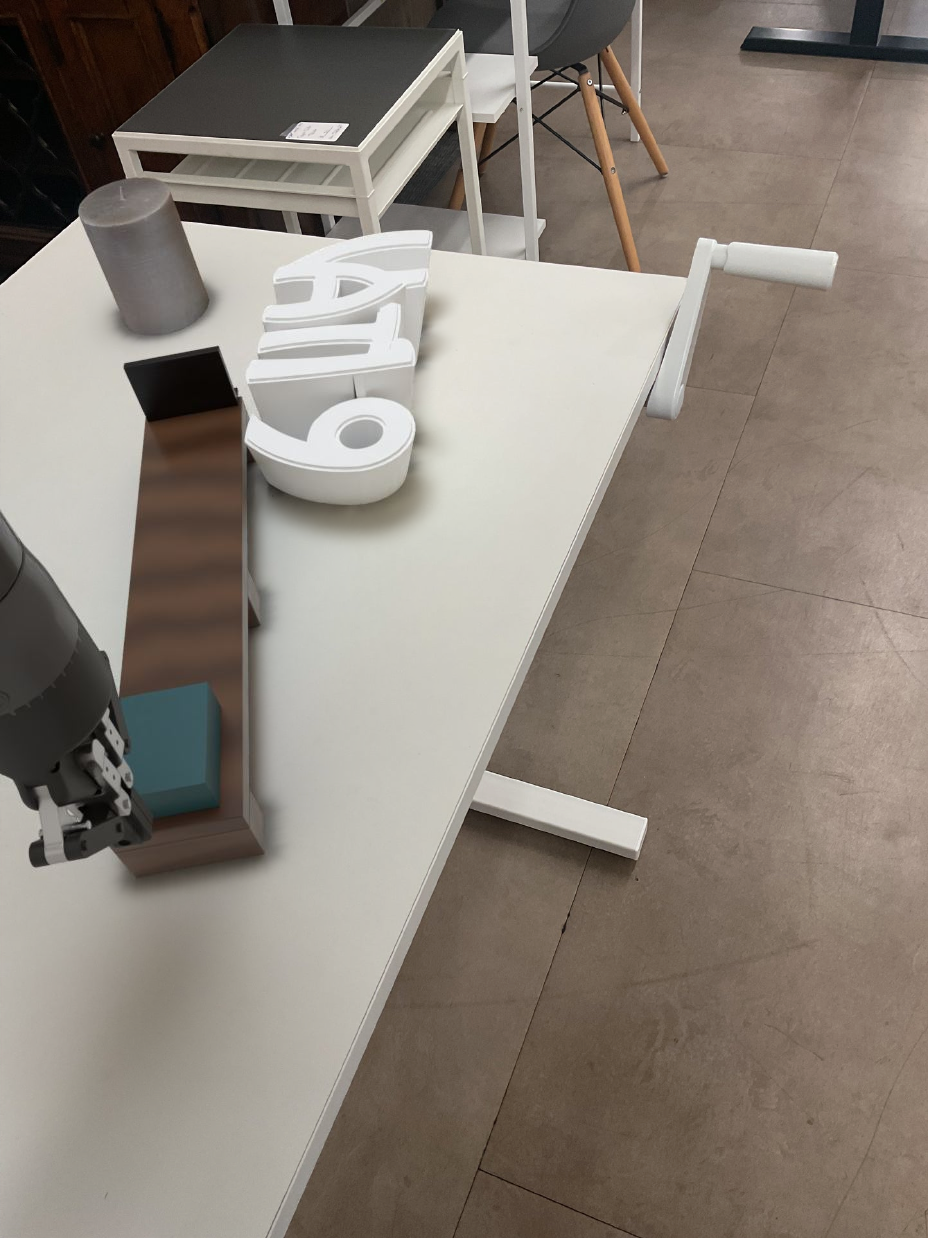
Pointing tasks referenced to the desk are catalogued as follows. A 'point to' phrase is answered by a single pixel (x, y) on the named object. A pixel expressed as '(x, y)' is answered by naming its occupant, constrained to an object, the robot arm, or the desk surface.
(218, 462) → the shelf
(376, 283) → the white numeral sign
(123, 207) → the pillar candle
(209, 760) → the teal rectangular block
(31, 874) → the desk surface
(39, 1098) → the desk surface
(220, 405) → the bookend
